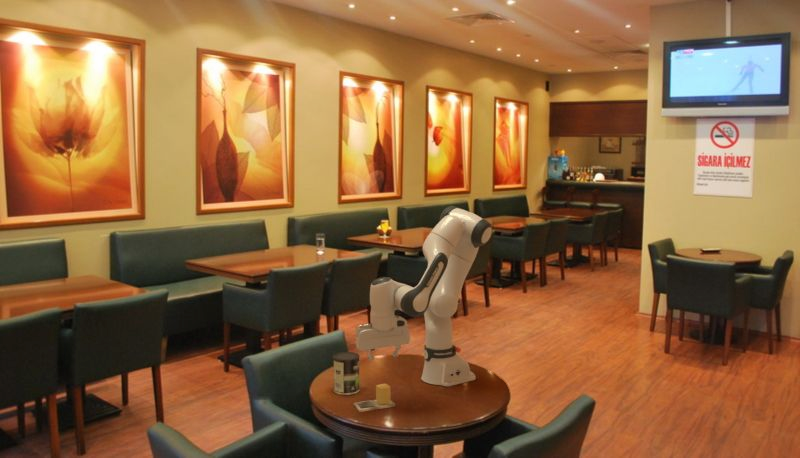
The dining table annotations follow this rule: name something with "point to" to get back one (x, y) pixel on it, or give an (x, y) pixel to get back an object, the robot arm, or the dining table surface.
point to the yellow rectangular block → (383, 393)
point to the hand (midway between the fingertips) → (383, 358)
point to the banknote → (371, 405)
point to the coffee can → (346, 373)
